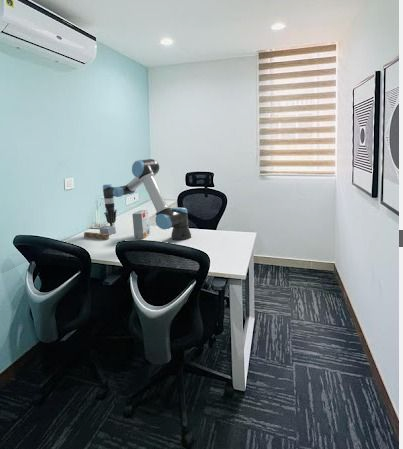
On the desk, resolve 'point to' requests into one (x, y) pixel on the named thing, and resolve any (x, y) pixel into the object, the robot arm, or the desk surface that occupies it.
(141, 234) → the hard drive box
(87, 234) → the walnut stop board
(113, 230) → the slate block
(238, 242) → the desk surface
